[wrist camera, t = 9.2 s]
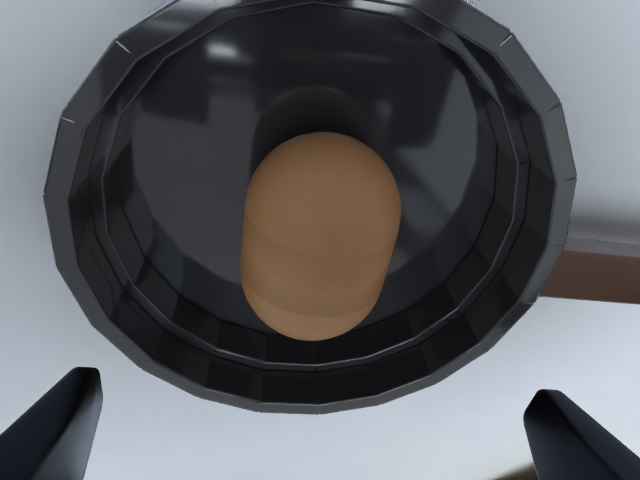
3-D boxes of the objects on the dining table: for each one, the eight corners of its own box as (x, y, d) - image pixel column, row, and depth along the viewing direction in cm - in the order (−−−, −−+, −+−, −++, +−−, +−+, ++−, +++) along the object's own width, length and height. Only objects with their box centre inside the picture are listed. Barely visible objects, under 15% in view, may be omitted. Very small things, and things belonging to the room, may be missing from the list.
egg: (240, 274, 17) (229, 368, 13) (254, 99, 14) (245, 164, 10) (358, 282, 18) (378, 376, 14) (400, 119, 14) (441, 186, 11)
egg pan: (111, 332, 19) (81, 406, 16) (61, -95, 11) (-14, -102, 8) (446, 352, 21) (472, 421, 18) (597, 2, 13) (685, 24, 10)
